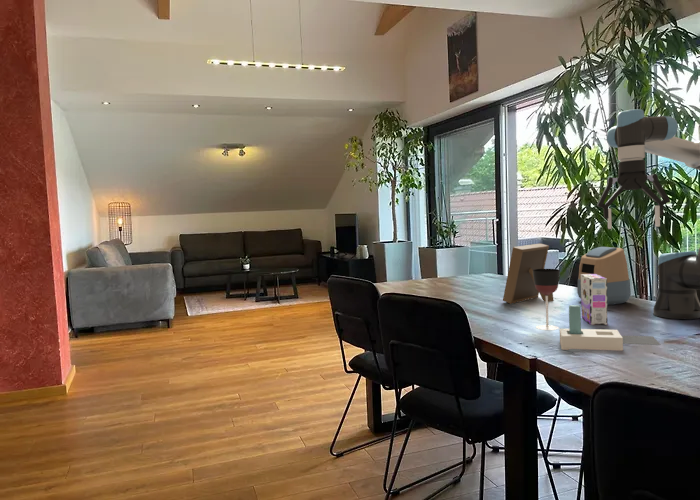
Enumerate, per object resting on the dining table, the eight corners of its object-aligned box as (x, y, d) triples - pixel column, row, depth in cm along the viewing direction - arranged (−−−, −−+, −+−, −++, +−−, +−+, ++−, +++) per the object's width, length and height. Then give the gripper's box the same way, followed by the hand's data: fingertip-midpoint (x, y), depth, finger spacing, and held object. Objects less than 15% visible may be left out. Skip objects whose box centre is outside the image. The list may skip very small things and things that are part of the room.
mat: (652, 337, 160) (652, 336, 160) (660, 345, 151) (660, 344, 151) (616, 336, 164) (616, 335, 164) (622, 344, 154) (622, 343, 154)
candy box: (608, 325, 179) (607, 278, 178) (590, 325, 180) (589, 278, 179) (597, 317, 193) (597, 273, 192) (580, 317, 194) (579, 273, 193)
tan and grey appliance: (573, 300, 228) (572, 247, 227) (608, 297, 231) (607, 245, 230) (598, 306, 212) (597, 250, 210) (635, 303, 215) (634, 247, 213)
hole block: (617, 342, 156) (617, 329, 156) (622, 351, 147) (622, 337, 147) (559, 341, 162) (559, 328, 161) (561, 349, 152) (561, 336, 152)
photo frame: (502, 302, 231) (501, 246, 229) (529, 296, 245) (529, 243, 243) (533, 306, 219) (532, 247, 218) (559, 299, 233) (559, 243, 231)
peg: (581, 344, 156) (580, 305, 156) (581, 347, 153) (580, 307, 153) (569, 344, 158) (568, 305, 157) (570, 347, 155) (569, 306, 154)
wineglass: (538, 324, 186) (537, 268, 185) (564, 326, 181) (562, 269, 179) (530, 328, 180) (529, 271, 179) (556, 331, 175) (555, 271, 173)
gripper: (673, 157, 164) (675, 224, 165) (586, 164, 172) (589, 229, 173) (680, 155, 157) (681, 225, 158) (589, 163, 165) (591, 230, 166)
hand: (633, 227), depth 166 cm, fingers open, 13 cm apart
